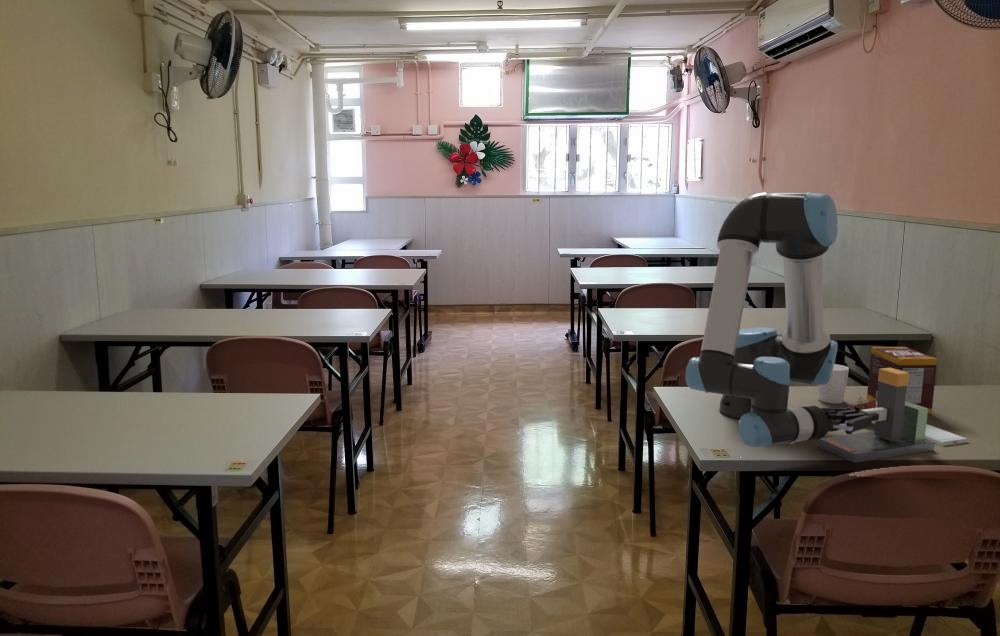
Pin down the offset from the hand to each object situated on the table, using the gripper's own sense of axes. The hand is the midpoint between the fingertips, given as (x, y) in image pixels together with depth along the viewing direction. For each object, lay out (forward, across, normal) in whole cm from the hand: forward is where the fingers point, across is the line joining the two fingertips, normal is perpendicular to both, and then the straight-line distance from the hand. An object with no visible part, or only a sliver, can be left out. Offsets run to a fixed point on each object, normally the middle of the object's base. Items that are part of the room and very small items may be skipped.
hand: (884, 413), depth 175 cm
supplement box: (+32, -24, -9) cm, 41 cm away
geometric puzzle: (+11, -16, -9) cm, 22 cm away
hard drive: (+19, -2, -9) cm, 22 cm away
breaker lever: (+2, 0, -6) cm, 6 cm away
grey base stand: (-2, 0, -8) cm, 9 cm away
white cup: (+18, -35, -9) cm, 40 cm away
